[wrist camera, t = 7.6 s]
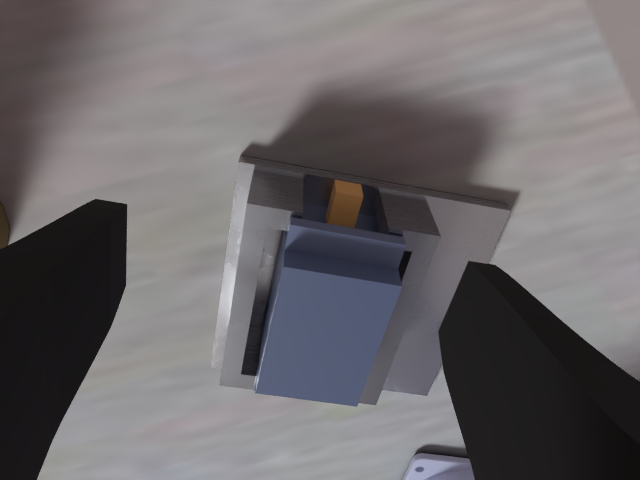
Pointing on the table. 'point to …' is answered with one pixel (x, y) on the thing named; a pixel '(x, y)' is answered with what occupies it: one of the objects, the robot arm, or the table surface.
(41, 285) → the robot arm
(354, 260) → the blue-grey long block
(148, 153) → the table surface
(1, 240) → the cork
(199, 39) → the table surface
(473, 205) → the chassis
